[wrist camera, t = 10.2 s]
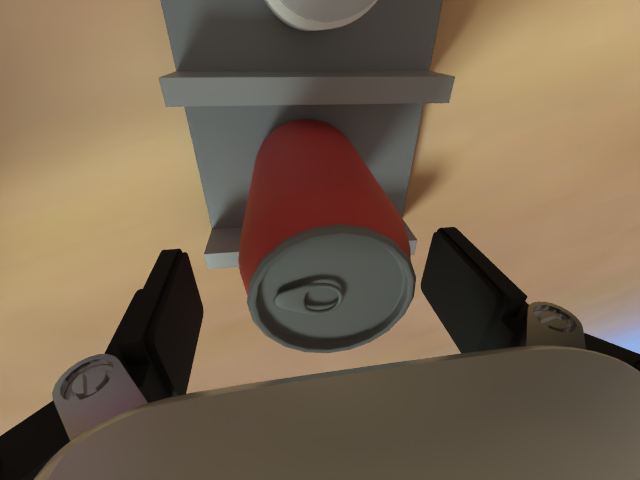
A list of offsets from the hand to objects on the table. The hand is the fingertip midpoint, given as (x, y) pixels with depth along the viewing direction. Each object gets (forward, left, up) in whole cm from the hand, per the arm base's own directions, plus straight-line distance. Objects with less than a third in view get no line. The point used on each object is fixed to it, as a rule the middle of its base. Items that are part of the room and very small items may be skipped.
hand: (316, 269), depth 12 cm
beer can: (0, 0, -10) cm, 10 cm away
